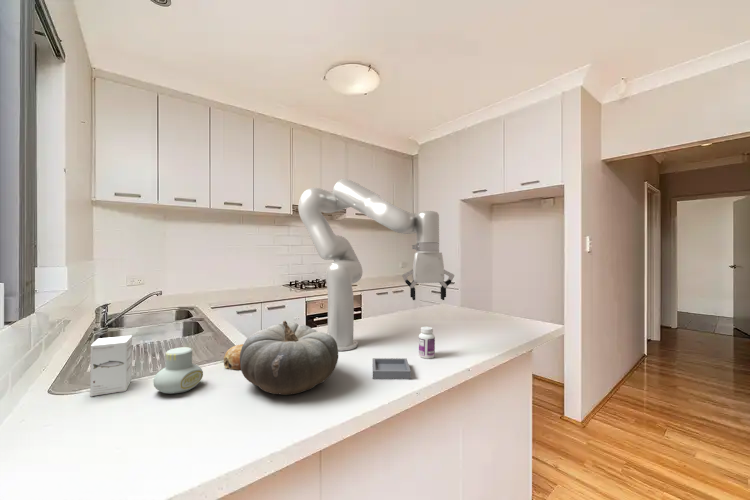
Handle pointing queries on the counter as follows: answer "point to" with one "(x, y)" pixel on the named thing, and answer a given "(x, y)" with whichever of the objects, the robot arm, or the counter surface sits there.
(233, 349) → the bread roll
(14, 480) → the counter surface
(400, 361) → the tray
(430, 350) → the pill bottle
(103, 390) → the supplement box
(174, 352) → the air freshener
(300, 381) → the gourd
